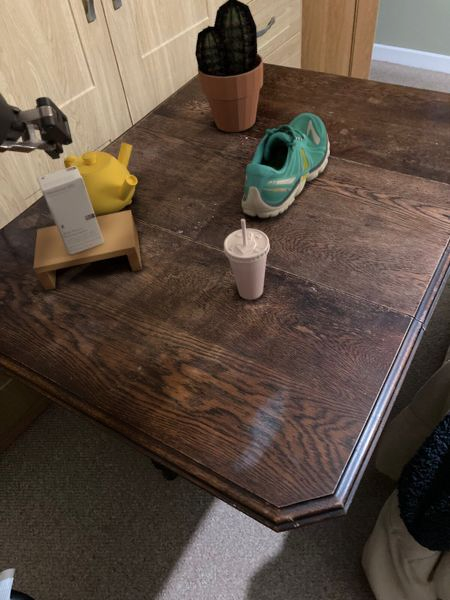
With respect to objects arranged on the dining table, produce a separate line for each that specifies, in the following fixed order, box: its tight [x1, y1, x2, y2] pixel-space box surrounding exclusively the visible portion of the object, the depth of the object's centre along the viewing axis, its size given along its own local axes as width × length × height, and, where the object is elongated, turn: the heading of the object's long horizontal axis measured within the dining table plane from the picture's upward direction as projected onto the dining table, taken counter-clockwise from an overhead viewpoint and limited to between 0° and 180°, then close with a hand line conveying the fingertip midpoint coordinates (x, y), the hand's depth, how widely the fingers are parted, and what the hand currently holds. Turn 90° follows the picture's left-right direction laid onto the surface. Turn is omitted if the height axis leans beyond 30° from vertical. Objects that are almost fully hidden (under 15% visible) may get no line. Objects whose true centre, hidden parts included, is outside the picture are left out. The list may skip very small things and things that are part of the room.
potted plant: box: [194, 0, 264, 133], centre depth 102 cm, size 14×14×25 cm
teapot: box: [63, 142, 138, 217], centre depth 90 cm, size 14×14×11 cm
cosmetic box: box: [36, 166, 104, 255], centre depth 75 cm, size 6×4×12 cm
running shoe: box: [241, 112, 331, 219], centre depth 89 cm, size 11×29×11 cm, turn 155°
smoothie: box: [223, 218, 271, 301], centre depth 70 cm, size 6×6×14 cm
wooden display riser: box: [33, 209, 143, 291], centre depth 82 cm, size 16×10×5 cm, turn 102°
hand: (15, 157), depth 52 cm, fingers open, 8 cm apart
